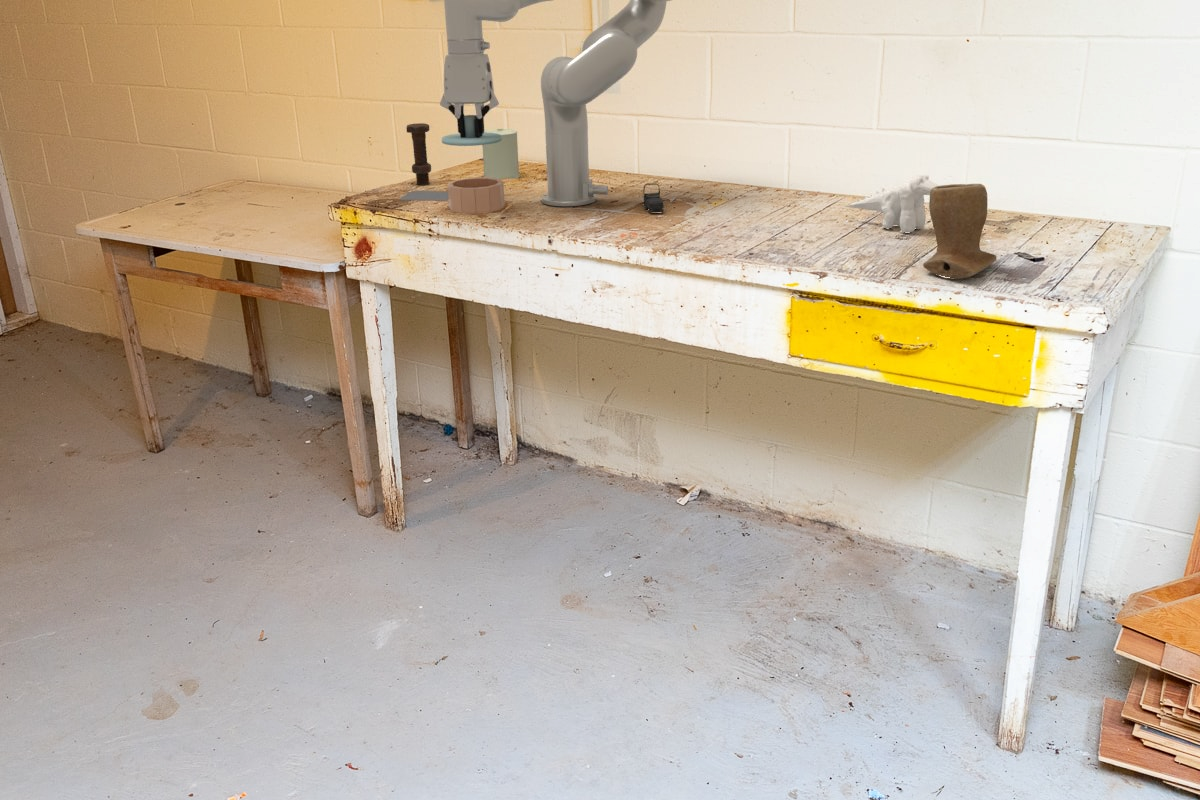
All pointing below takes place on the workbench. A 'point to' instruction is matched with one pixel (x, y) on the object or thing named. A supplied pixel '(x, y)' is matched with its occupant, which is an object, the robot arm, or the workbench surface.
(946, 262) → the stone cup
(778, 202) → the workbench surface
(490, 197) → the bowl
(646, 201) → the reflex sight
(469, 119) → the lid
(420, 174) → the bolt
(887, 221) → the white dinosaur figurine
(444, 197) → the mat
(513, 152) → the can
